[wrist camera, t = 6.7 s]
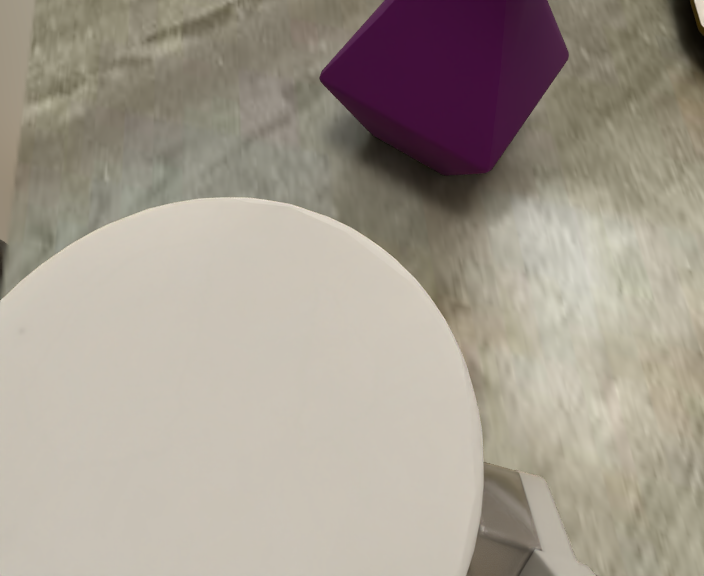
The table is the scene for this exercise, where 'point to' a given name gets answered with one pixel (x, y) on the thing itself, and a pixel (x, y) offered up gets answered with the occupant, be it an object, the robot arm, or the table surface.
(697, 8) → the plate
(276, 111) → the table surface
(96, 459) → the pill bottle
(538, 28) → the purple faceted vase
